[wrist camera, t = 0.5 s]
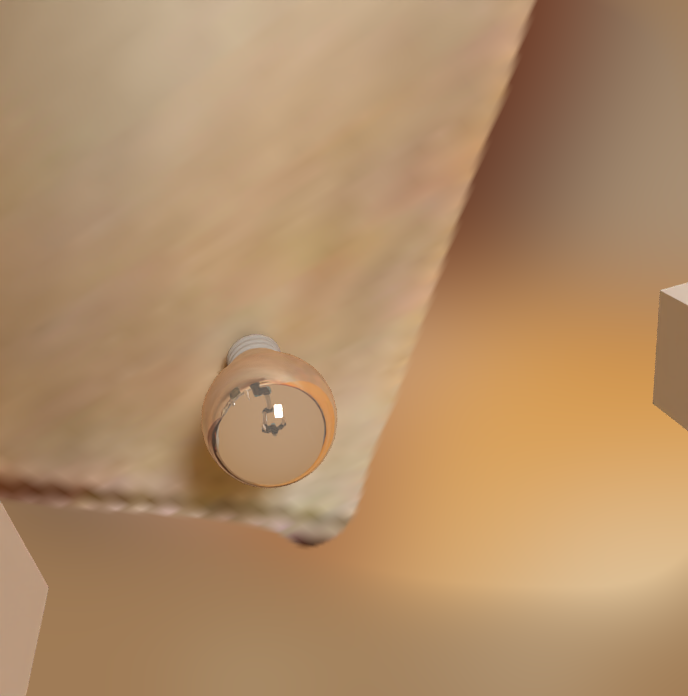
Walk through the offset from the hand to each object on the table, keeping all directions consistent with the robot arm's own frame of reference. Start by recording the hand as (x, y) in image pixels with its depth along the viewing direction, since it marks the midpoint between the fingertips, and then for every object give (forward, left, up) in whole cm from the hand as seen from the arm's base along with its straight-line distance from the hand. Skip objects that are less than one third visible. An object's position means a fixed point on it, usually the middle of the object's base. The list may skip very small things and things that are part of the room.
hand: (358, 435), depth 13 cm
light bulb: (+11, -2, -27) cm, 29 cm away
